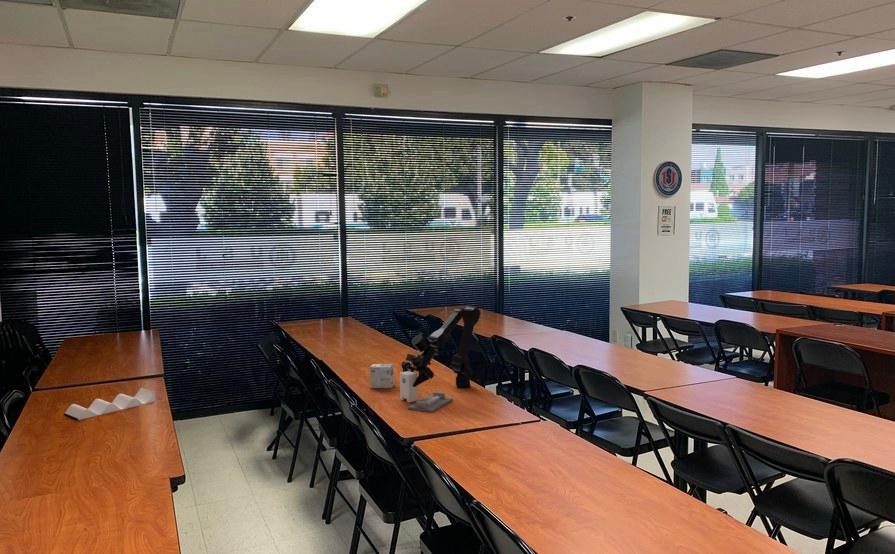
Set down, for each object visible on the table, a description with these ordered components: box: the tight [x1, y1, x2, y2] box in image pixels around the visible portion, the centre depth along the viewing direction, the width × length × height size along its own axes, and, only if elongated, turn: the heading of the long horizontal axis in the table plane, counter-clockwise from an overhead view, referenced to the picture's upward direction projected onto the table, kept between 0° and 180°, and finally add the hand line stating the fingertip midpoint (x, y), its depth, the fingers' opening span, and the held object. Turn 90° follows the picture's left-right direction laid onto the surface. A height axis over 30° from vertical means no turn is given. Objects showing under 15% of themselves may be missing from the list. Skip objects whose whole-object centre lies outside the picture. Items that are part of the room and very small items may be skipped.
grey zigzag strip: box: [63, 387, 156, 421], centre depth 300 cm, size 13×35×5 cm, turn 141°
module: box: [399, 371, 419, 403], centre depth 306 cm, size 6×6×12 cm
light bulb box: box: [369, 363, 395, 389], centre depth 331 cm, size 11×7×11 cm, turn 84°
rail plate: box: [407, 391, 454, 413], centre depth 299 cm, size 20×12×3 cm, turn 153°
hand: (407, 384), depth 306 cm, fingers open, 9 cm apart
